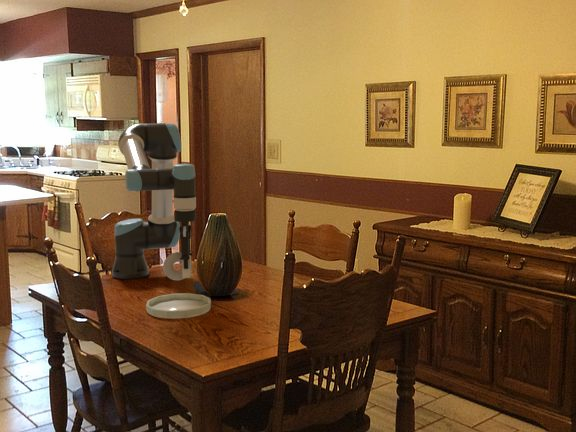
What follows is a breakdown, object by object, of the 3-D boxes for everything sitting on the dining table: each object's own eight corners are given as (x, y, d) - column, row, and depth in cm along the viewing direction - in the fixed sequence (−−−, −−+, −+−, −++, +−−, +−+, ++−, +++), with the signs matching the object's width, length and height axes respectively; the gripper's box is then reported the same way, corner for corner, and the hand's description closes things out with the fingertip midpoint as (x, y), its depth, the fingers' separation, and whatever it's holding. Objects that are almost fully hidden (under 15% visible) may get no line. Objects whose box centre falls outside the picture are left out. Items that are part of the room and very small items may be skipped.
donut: (191, 278, 237) (191, 250, 236) (193, 280, 234) (192, 252, 232) (163, 280, 234) (162, 251, 233) (164, 282, 231) (163, 254, 229)
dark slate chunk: (228, 282, 274) (228, 271, 274) (239, 296, 254) (239, 284, 253) (190, 285, 270) (190, 273, 270) (198, 299, 250) (198, 287, 249)
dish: (150, 301, 246) (150, 294, 246) (211, 299, 248) (211, 292, 248) (143, 319, 225) (143, 312, 224) (209, 317, 226) (209, 310, 226)
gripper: (175, 206, 239) (177, 270, 243) (171, 213, 222) (174, 282, 226) (197, 205, 240) (198, 270, 243) (194, 212, 223) (196, 281, 227)
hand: (186, 275), depth 235 cm, fingers closed on donut, 4 cm apart
